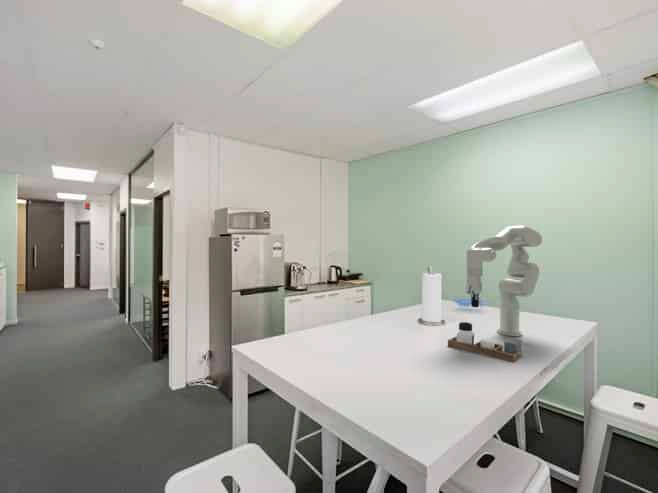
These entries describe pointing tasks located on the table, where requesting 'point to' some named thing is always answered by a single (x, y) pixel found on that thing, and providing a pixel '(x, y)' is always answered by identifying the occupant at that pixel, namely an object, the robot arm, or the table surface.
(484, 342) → the white rounded lump
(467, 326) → the medicine bottle
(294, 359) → the table surface
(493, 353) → the wooden compartment tray
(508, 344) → the grey rectangular block
